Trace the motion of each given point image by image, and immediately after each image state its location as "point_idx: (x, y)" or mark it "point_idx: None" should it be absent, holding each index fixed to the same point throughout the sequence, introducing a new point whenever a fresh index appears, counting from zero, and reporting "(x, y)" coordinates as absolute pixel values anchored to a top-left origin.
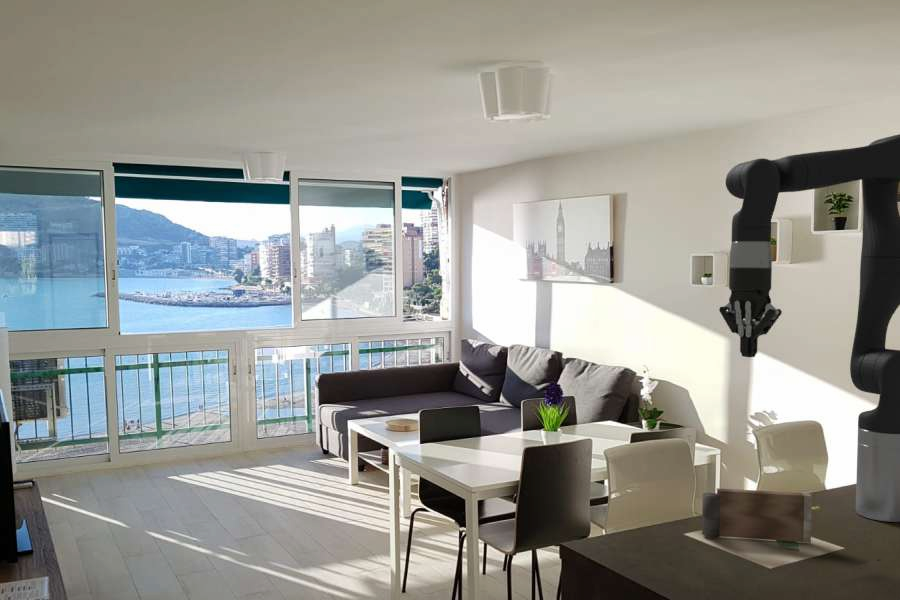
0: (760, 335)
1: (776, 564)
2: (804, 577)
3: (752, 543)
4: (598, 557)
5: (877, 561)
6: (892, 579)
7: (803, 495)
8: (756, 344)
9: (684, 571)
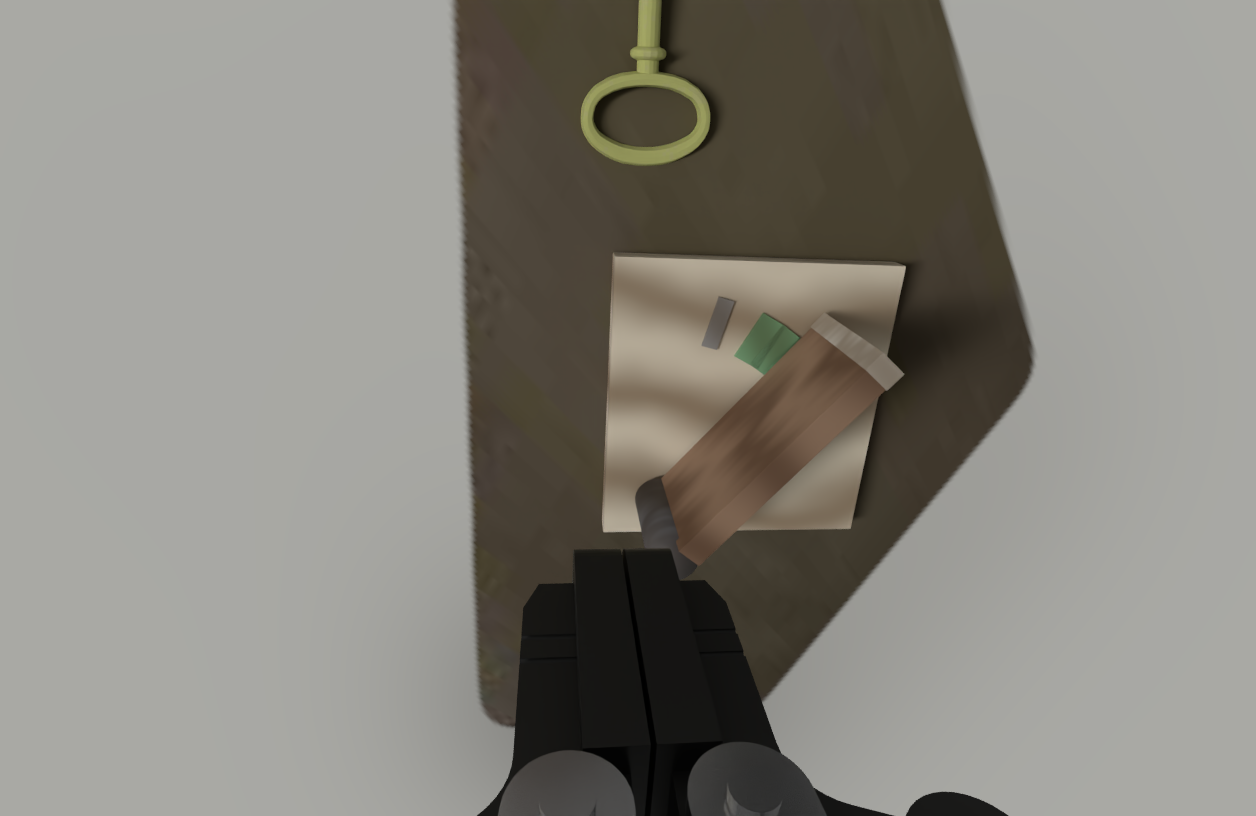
0: (866, 811)
1: (847, 501)
2: (886, 456)
3: None
4: None
5: (962, 214)
6: (1022, 300)
7: (882, 389)
8: (751, 694)
9: None
